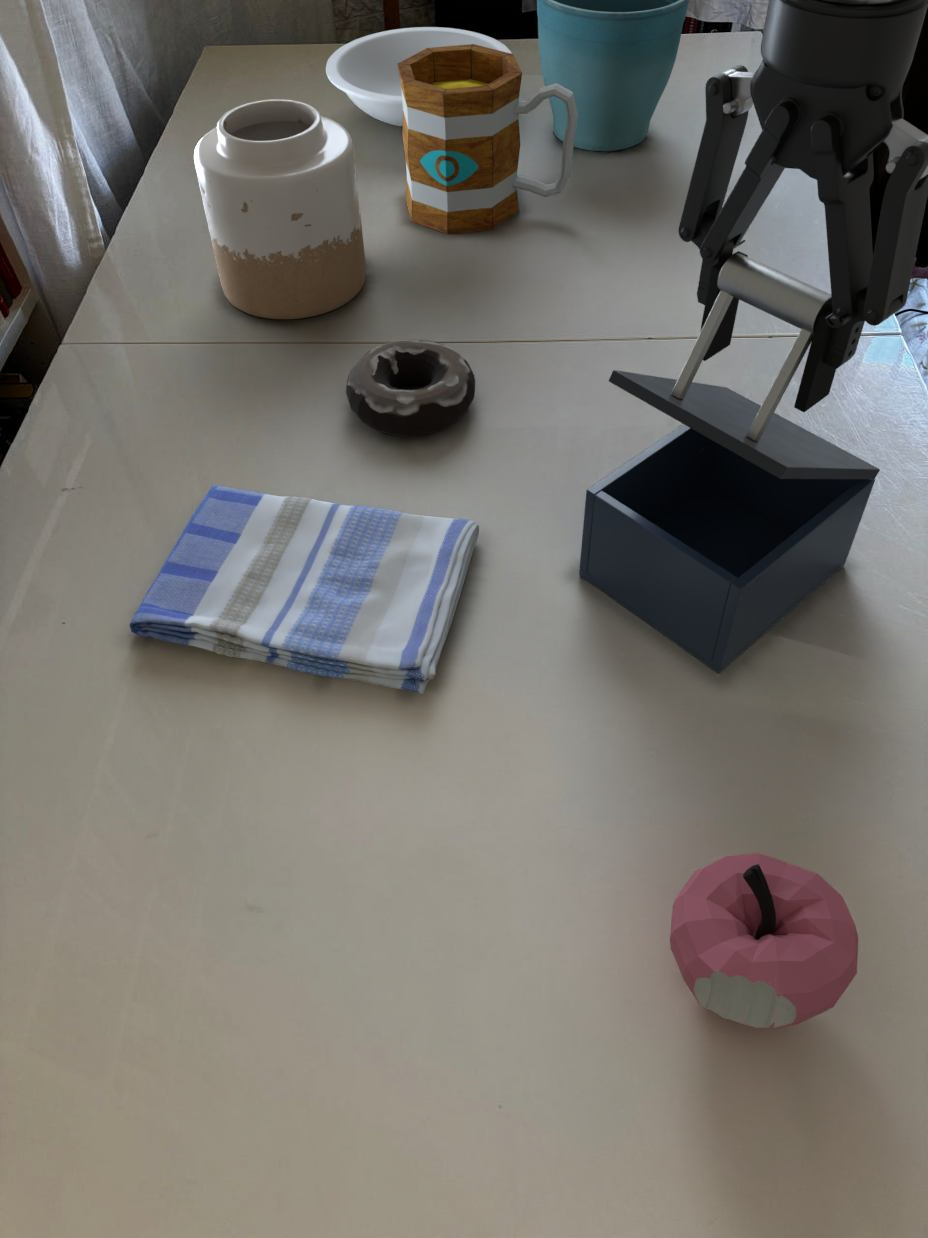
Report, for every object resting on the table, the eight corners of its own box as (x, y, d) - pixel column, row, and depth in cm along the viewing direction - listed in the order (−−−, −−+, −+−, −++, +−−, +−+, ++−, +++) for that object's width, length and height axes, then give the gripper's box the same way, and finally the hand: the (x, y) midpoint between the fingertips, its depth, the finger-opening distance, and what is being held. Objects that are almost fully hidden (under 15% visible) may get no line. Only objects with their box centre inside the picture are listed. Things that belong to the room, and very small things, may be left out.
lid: (779, 479, 61) (870, 313, 57) (607, 380, 68) (677, 226, 64) (874, 479, 74) (954, 343, 69) (721, 396, 80) (785, 268, 76)
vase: (396, 273, 110) (383, 112, 98) (293, 338, 103) (265, 172, 90) (296, 230, 117) (272, 74, 104) (192, 288, 109) (153, 126, 97)
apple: (635, 1011, 58) (656, 933, 50) (687, 884, 63) (712, 796, 56) (805, 1092, 55) (854, 1022, 47) (845, 951, 60) (895, 868, 52)
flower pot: (685, 111, 136) (705, -36, 123) (659, 173, 124) (678, 17, 112) (551, 96, 140) (557, -48, 127) (514, 155, 128) (516, 3, 116)
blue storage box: (718, 674, 74) (740, 590, 67) (578, 575, 80) (585, 489, 74) (844, 565, 80) (875, 479, 74) (705, 482, 87) (722, 396, 81)
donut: (491, 378, 98) (491, 341, 95) (452, 455, 90) (451, 418, 87) (375, 358, 100) (372, 322, 97) (329, 432, 93) (323, 395, 90)
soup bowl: (381, 67, 147) (377, 17, 142) (539, 91, 141) (541, 39, 136) (298, 138, 133) (290, 84, 128) (470, 168, 126) (469, 112, 121)
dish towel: (432, 704, 72) (430, 679, 70) (124, 646, 77) (114, 620, 74) (488, 536, 83) (488, 510, 81) (217, 493, 88) (210, 467, 86)
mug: (389, 228, 117) (378, 89, 106) (420, 173, 126) (413, 39, 114) (561, 245, 114) (569, 103, 102) (581, 188, 122) (590, 51, 111)
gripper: (644, -50, 54) (607, 336, 71) (1008, 53, 44) (862, 472, 61) (733, -82, 57) (677, 294, 74) (1090, 7, 47) (930, 417, 64)
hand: (760, 374), depth 67 cm, fingers closed on lid, 7 cm apart
